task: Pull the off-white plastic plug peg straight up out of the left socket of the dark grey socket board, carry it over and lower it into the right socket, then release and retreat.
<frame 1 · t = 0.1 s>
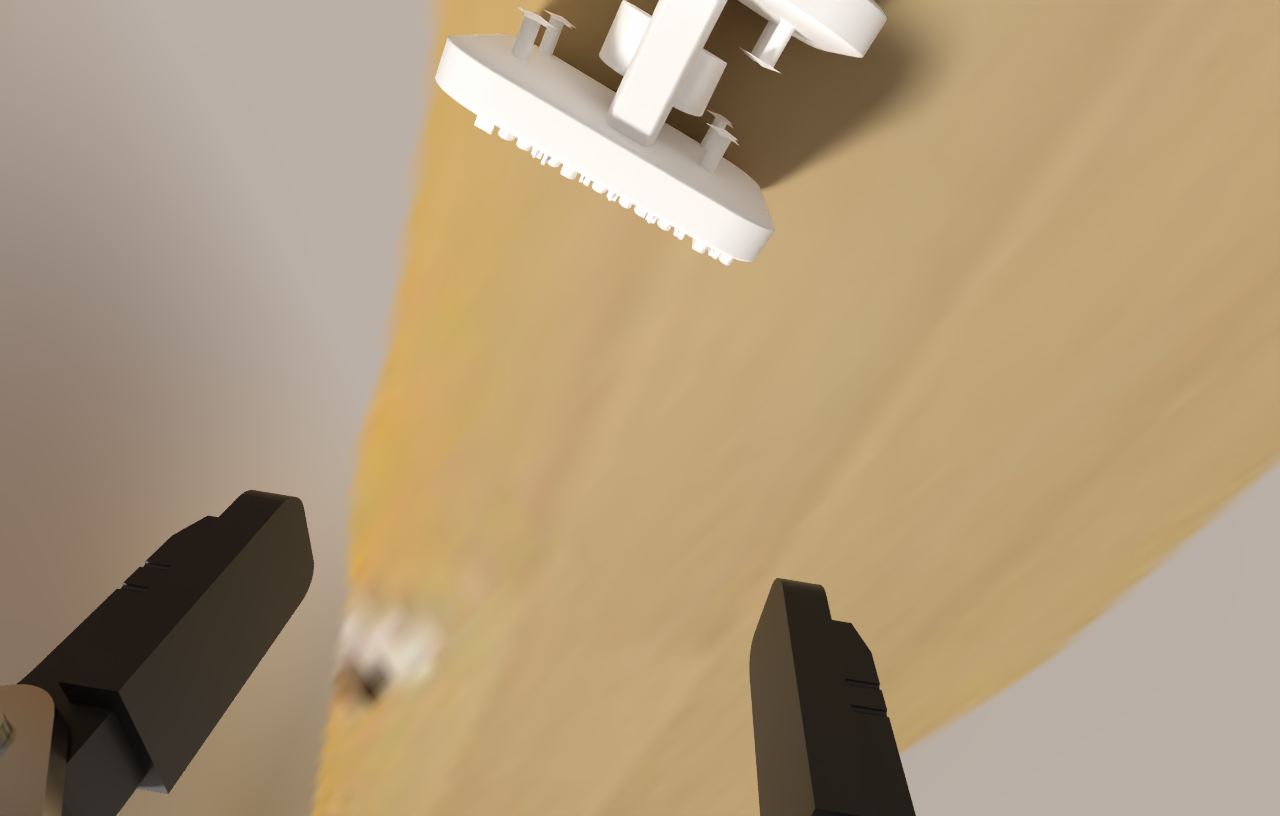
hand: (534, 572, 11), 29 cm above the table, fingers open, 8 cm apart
cable organizer: (667, 51, 32), on the table
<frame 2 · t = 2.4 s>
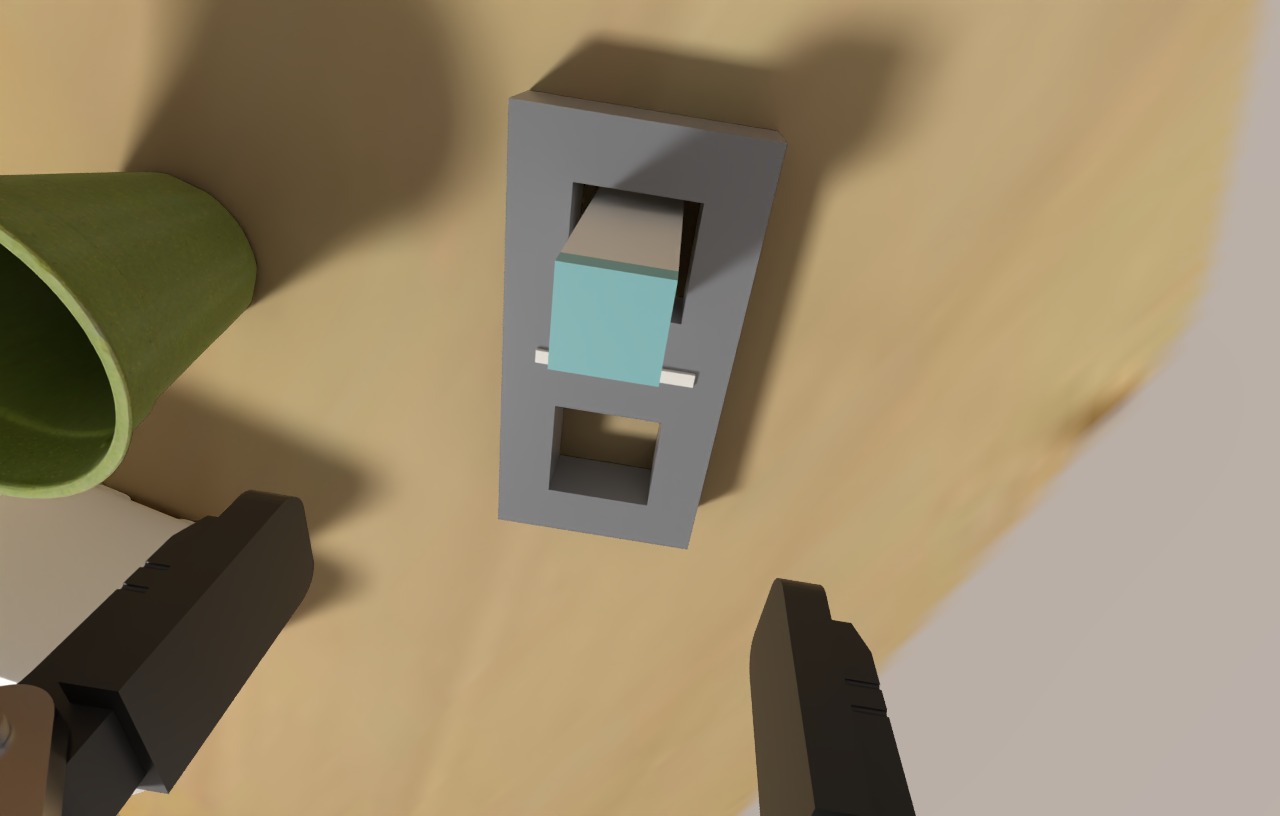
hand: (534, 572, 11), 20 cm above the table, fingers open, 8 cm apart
cable organizer: (163, 554, 41), on the table
plug peg: (636, 235, 27), resting in socket board
socket board: (622, 337, 30), on the table
plant pot: (186, 245, 30), on the table
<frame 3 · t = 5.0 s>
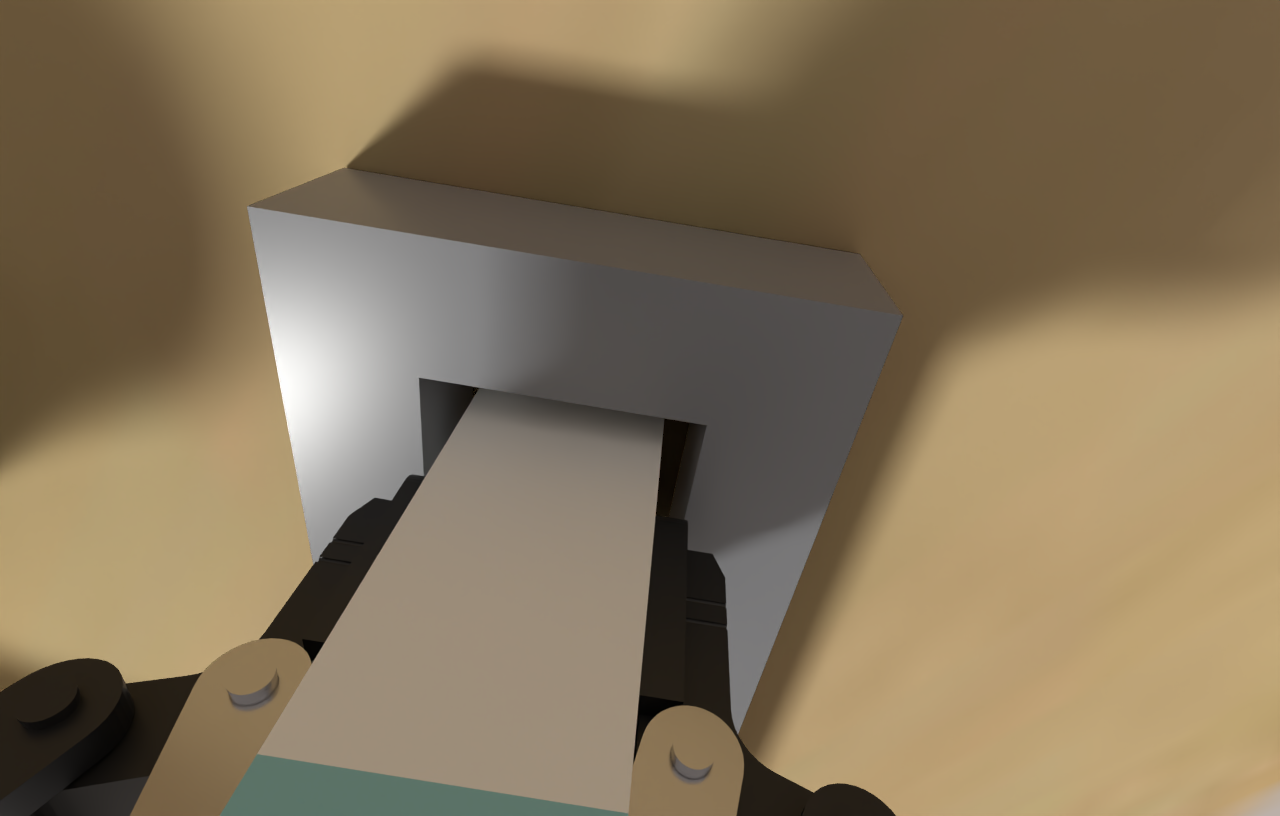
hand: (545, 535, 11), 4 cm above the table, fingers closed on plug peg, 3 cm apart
plug peg: (579, 426, 15), resting in socket board, touching gripper
socket board: (562, 576, 17), on the table
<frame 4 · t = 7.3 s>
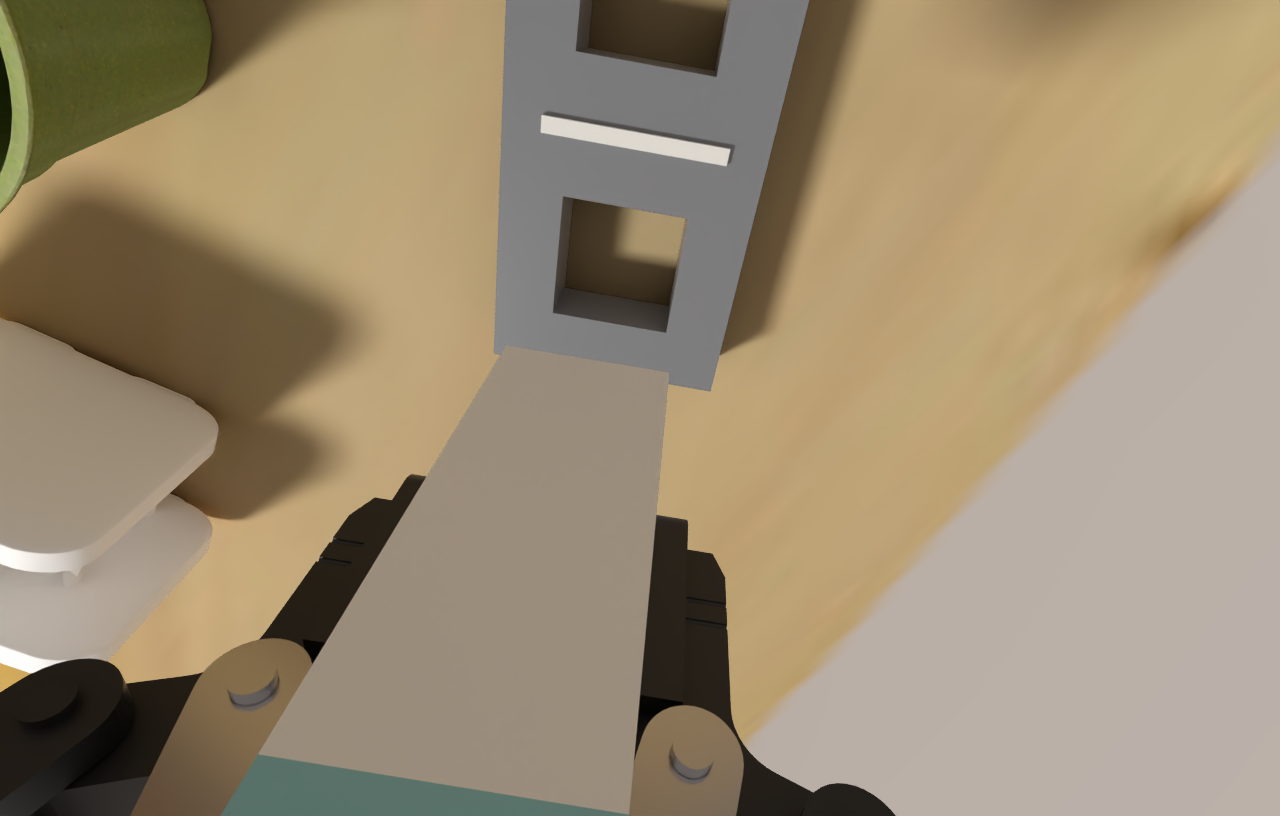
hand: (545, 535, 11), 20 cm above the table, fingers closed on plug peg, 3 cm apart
cable organizer: (115, 424, 37), on the table
plug peg: (580, 427, 15), point 16 cm above the table, touching gripper
socket board: (641, 127, 26), on the table
plant pot: (128, 6, 25), on the table
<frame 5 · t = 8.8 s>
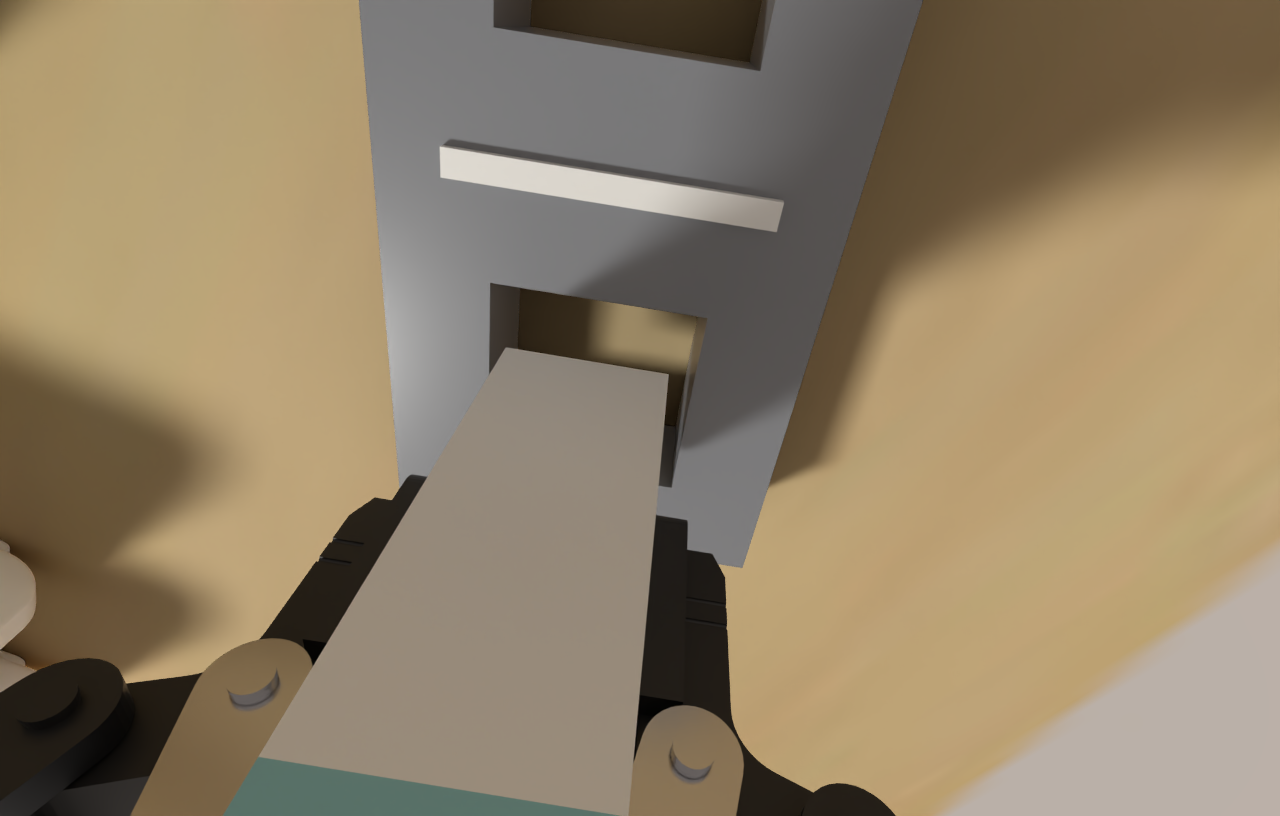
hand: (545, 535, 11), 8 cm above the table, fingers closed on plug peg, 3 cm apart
plug peg: (579, 428, 15), point 4 cm above the table, touching gripper
socket board: (626, 160, 15), on the table
when the fingers open (5 cm above the table, at t = 10.0 s): plug peg drops 1 cm, resting in socket board.
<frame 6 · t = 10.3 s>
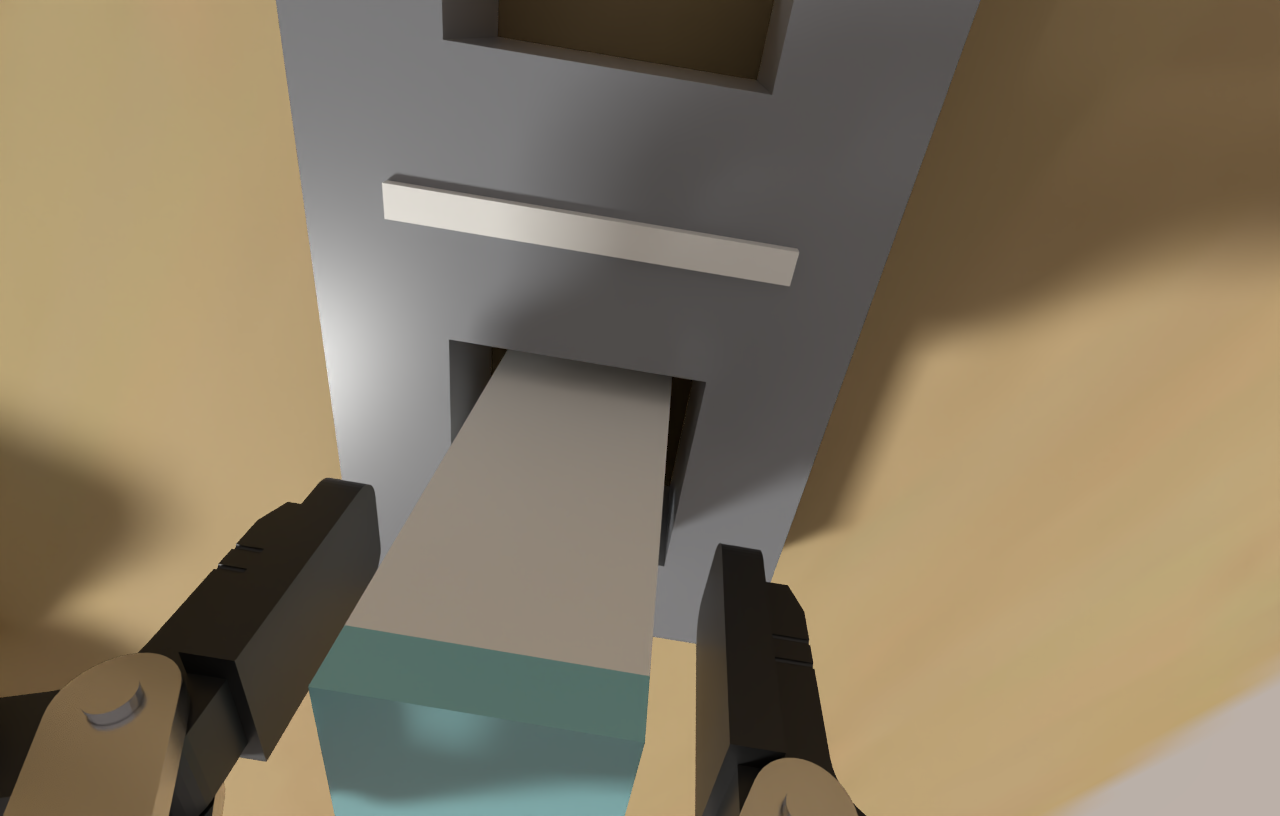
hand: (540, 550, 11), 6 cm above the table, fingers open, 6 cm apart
plug peg: (592, 395, 16), resting in socket board
socket board: (612, 192, 13), on the table
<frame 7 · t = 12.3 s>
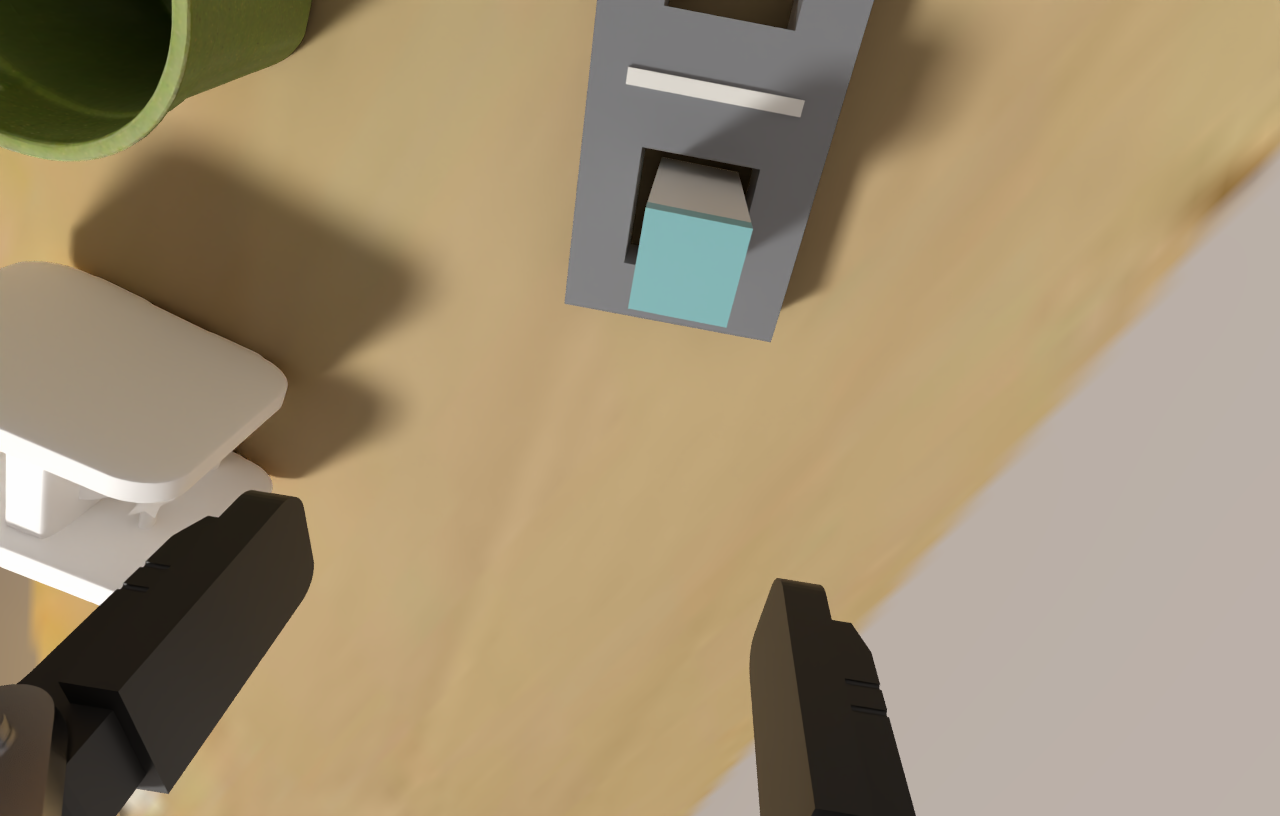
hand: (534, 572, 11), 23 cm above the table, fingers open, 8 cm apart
cable organizer: (183, 381, 38), on the table
plug peg: (691, 203, 30), resting in socket board
socket board: (713, 86, 27), on the table
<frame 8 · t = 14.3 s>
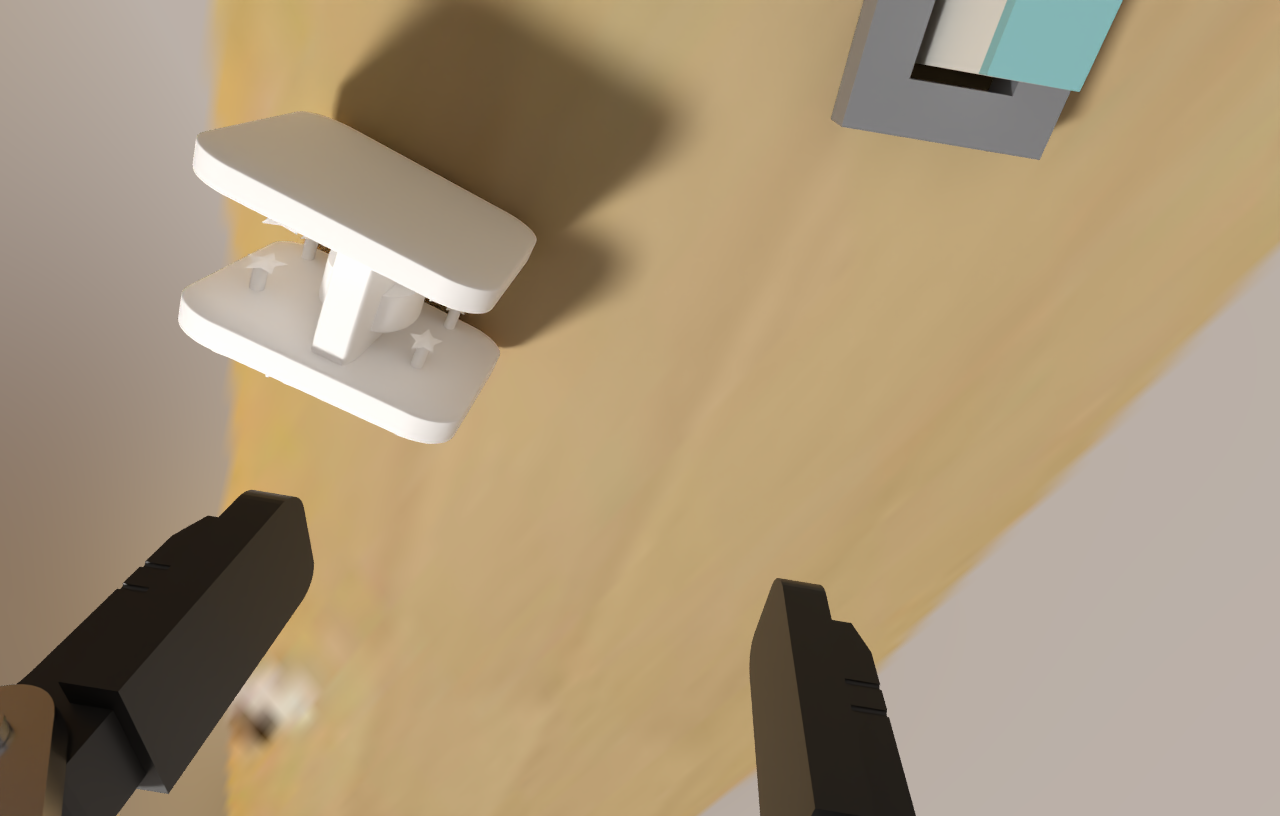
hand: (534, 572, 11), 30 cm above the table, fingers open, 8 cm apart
cable organizer: (418, 246, 40), on the table
plug peg: (961, 28, 31), resting in socket board
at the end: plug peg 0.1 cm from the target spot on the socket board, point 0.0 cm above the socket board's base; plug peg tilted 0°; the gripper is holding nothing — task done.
